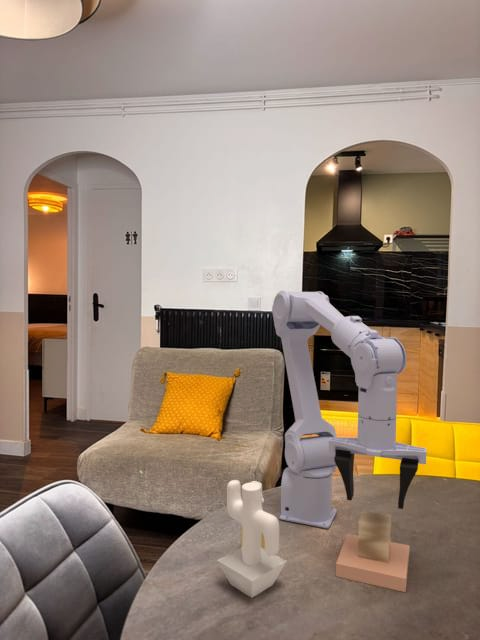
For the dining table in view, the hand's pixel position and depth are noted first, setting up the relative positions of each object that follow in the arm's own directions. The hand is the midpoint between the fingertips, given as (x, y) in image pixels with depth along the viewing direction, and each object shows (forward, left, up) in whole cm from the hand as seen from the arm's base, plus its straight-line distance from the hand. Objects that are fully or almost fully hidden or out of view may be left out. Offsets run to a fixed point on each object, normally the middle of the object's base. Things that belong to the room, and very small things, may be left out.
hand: (375, 502), depth 74 cm
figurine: (-16, -12, -10) cm, 23 cm away
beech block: (0, 0, -8) cm, 8 cm away
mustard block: (-21, -2, -8) cm, 22 cm away
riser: (0, 0, -10) cm, 10 cm away
